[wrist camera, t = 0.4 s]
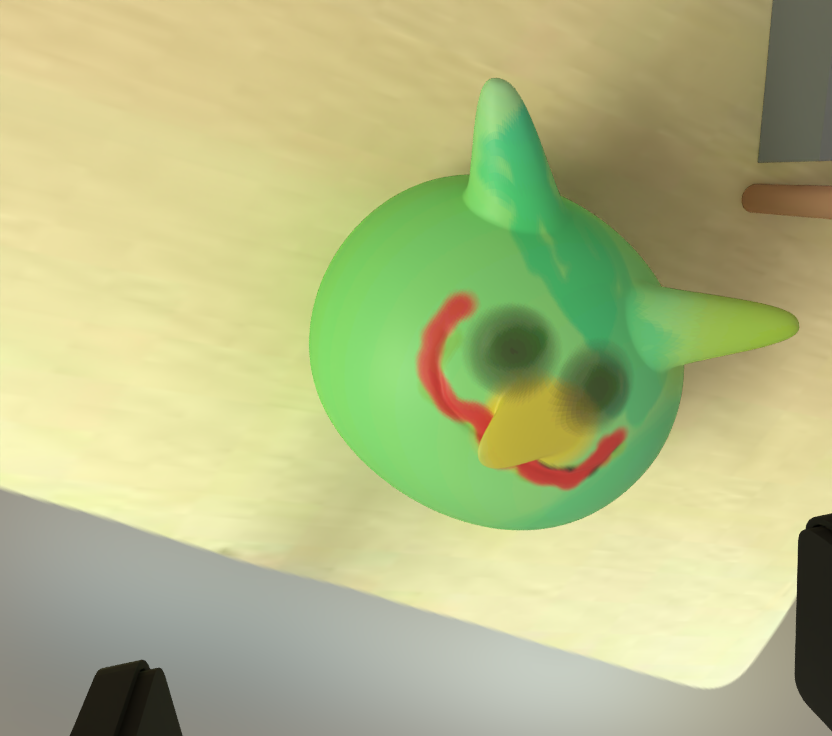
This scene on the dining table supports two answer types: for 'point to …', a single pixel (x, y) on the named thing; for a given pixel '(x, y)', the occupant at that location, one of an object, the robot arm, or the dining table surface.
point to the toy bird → (509, 340)
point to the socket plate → (798, 83)
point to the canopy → (789, 200)
